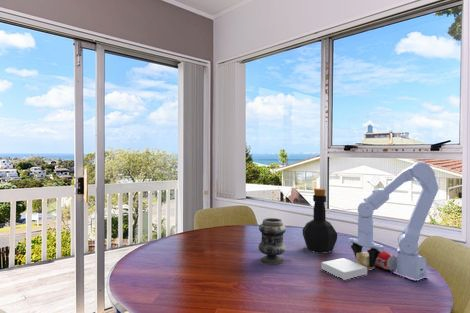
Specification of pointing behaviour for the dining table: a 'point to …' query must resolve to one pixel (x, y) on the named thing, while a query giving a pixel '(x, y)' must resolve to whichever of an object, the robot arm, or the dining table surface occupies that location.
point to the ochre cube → (363, 259)
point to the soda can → (386, 260)
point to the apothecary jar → (272, 240)
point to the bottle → (319, 227)
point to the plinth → (344, 268)
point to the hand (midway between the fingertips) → (365, 264)
